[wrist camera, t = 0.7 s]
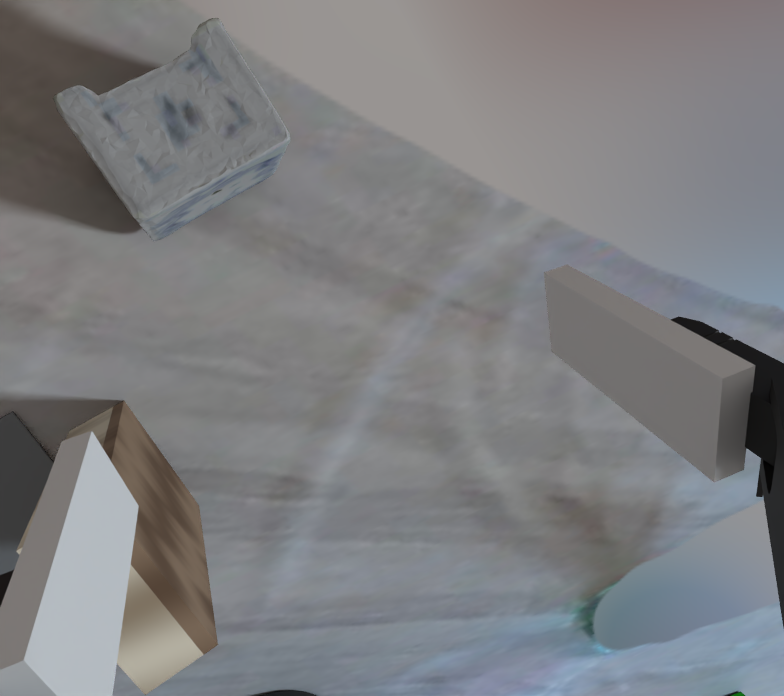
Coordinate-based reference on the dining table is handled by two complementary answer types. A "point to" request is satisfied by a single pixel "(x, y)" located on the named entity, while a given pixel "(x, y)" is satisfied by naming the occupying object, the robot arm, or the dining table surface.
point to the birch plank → (156, 557)
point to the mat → (18, 485)
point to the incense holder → (180, 133)
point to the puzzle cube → (737, 694)
